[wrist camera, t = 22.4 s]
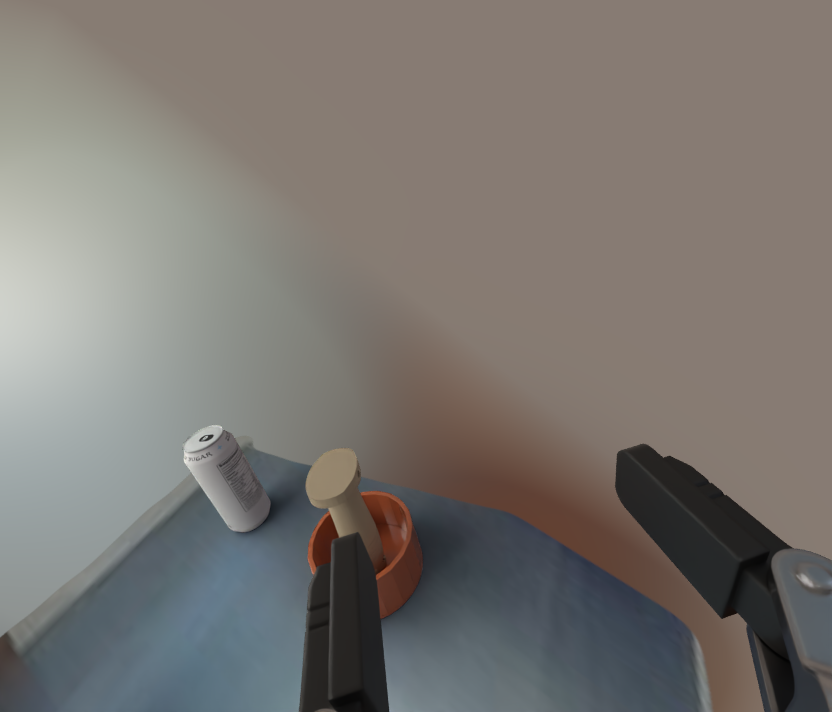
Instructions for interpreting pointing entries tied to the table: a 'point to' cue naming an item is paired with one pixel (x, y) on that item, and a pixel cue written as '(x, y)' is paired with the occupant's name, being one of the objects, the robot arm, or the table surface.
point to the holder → (397, 547)
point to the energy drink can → (226, 478)
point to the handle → (344, 499)
